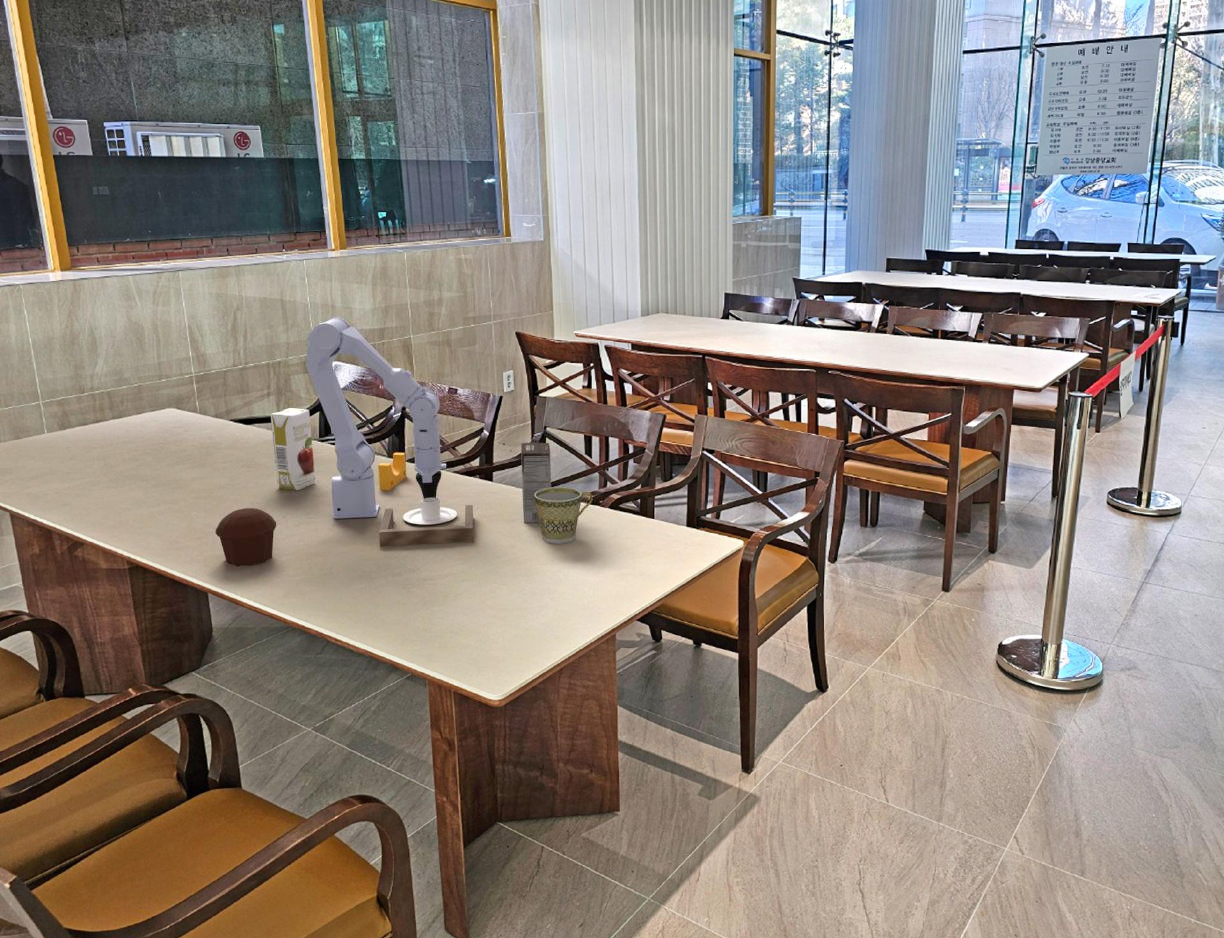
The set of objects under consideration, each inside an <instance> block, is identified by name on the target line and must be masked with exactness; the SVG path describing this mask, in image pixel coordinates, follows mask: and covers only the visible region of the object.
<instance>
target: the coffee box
mask: <svg viewBox="0 0 1224 938" xmlns="http://www.w3.org/2000/svg"><path fill="white" fill-rule="evenodd" d="M520 446H521V447H520V448H521V449H520V450H521V451H520V452H521V459H520V460H521V487H522V488H521V491H522V511H523V512H522V513H523V523H539V518H538V513H537V510H536V505H535V499H534V494H535V492H537V491H538V490H541V489H545V488H551V487H552V473H551V472H552V469H551V465H552V464H551V448H550V443H549V442H521V445H520Z"/></svg>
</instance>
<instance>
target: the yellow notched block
mask: <svg viewBox="0 0 1224 938" xmlns="http://www.w3.org/2000/svg"><path fill="white" fill-rule="evenodd" d="M377 468H378V481H379V483H378V484H379V490H380V491H391V490H393V489H394V488H395V486H397V485H398V484H400V483H401V482H402V481H403V480H404V479H406V477H407V476H408V475H407V459H406V452H394V453H392V463H390V462H389V463H387V462H381V463H379V464H378V467H377Z"/></svg>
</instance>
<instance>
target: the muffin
mask: <svg viewBox="0 0 1224 938" xmlns="http://www.w3.org/2000/svg"><path fill="white" fill-rule="evenodd" d="M276 528H277V521H276V520H275V519H274V517H273V516H271V515H270V514H269V513H267V512H266V511H264V510H262V509H259V508H256V507H250V508H249V507H246V508H245V507H244V508H239V509H236V510H233V511H232V512H230V513H228V514H227V515H225V516H224V517H223V518H221V520H220V522H219V523H218V525H217V527H216V528H215V534H216V536H217V537H219V539H220V543H221V547H222V551H223V555H224V558H225V561H226V564H227V563H228V564H227V565H231V566H234V565H235V566H234V567H251V566H255V565H259V564H263V563H264V564H265V562H267V561H269V560H270V558H271V559H272V558H273V549H274V548H273V547H274V531H275V530H276Z"/></svg>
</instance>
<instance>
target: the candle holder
mask: <svg viewBox="0 0 1224 938" xmlns="http://www.w3.org/2000/svg"><path fill="white" fill-rule="evenodd" d="M440 500H441V499H440V498H438V497H436V498H425V499H424V498H423V499H421V500H420V508H415V509H411V510H409V511H407V512H406V513H404V514H403V515H402V518H403V520H404V521H405V522H407V523H409V524H414V525H420V526H421V525H422V526H430V525H439V524H444V523H447V522H449V521H452V520H454V519H455V518H457V516H458V513H457V511H456V510H455V509H452V508H449V507H444V506H443V507H441V501H440Z"/></svg>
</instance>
